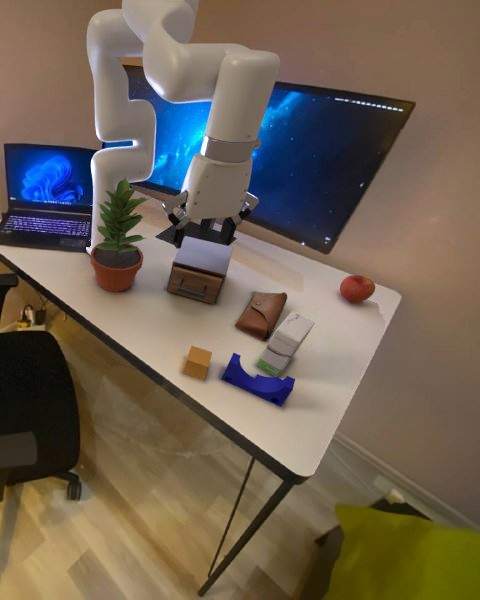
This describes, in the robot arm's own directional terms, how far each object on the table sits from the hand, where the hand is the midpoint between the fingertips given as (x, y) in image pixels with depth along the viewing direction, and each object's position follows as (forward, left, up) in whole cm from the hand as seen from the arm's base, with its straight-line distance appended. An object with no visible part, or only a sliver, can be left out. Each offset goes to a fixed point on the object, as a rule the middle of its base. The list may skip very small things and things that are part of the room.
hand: (200, 242), depth 65 cm
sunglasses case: (-19, +19, -28) cm, 38 cm away
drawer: (-21, +1, -26) cm, 34 cm away
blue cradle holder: (+5, +19, -28) cm, 34 cm away
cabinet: (-26, +1, -27) cm, 38 cm away
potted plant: (-16, -21, -28) cm, 38 cm away
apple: (-37, +41, -28) cm, 61 cm away
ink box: (-4, +23, -28) cm, 36 cm away
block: (+6, +7, -27) cm, 29 cm away
